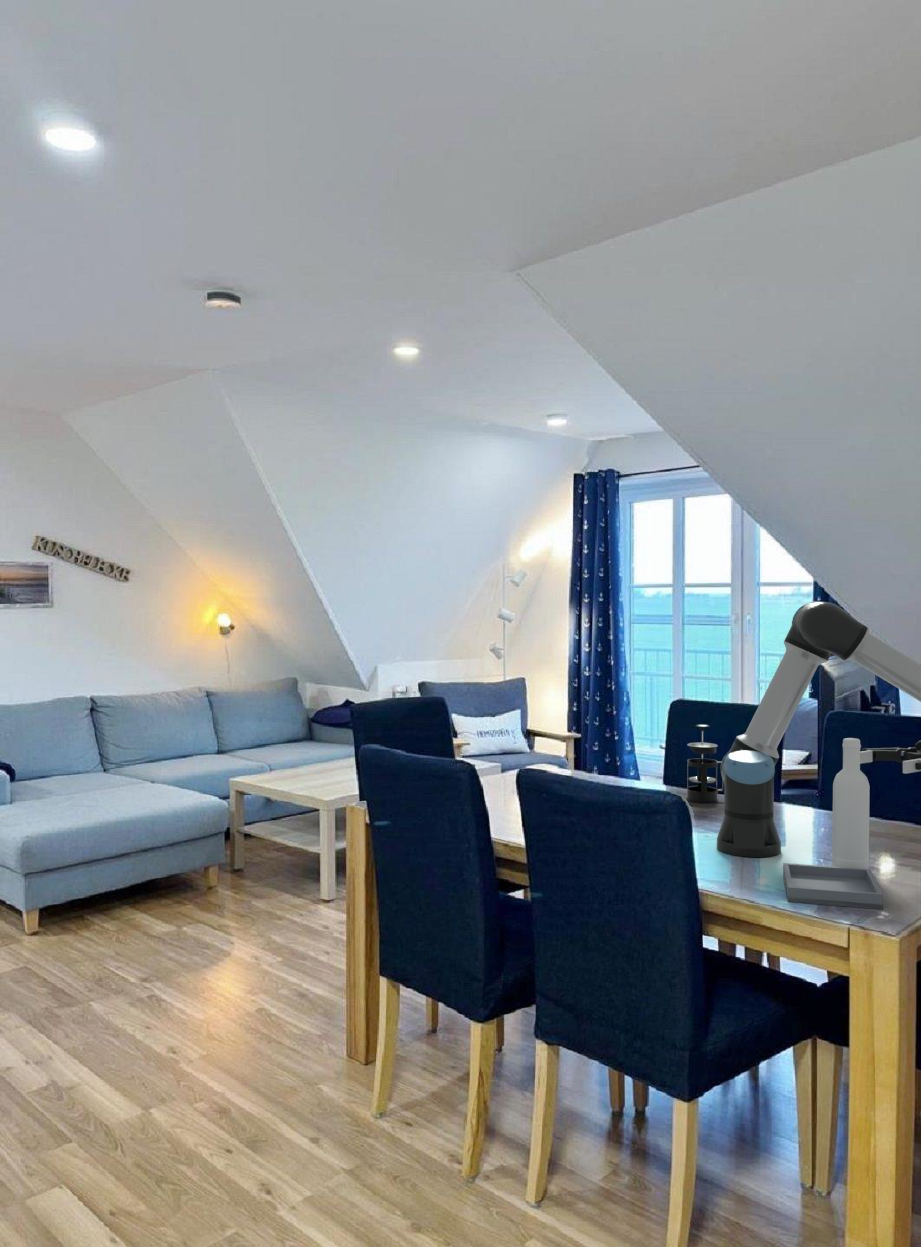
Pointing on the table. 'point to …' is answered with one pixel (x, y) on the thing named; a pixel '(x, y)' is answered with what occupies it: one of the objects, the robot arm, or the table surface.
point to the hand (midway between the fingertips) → (877, 763)
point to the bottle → (851, 811)
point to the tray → (832, 886)
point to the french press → (703, 773)
